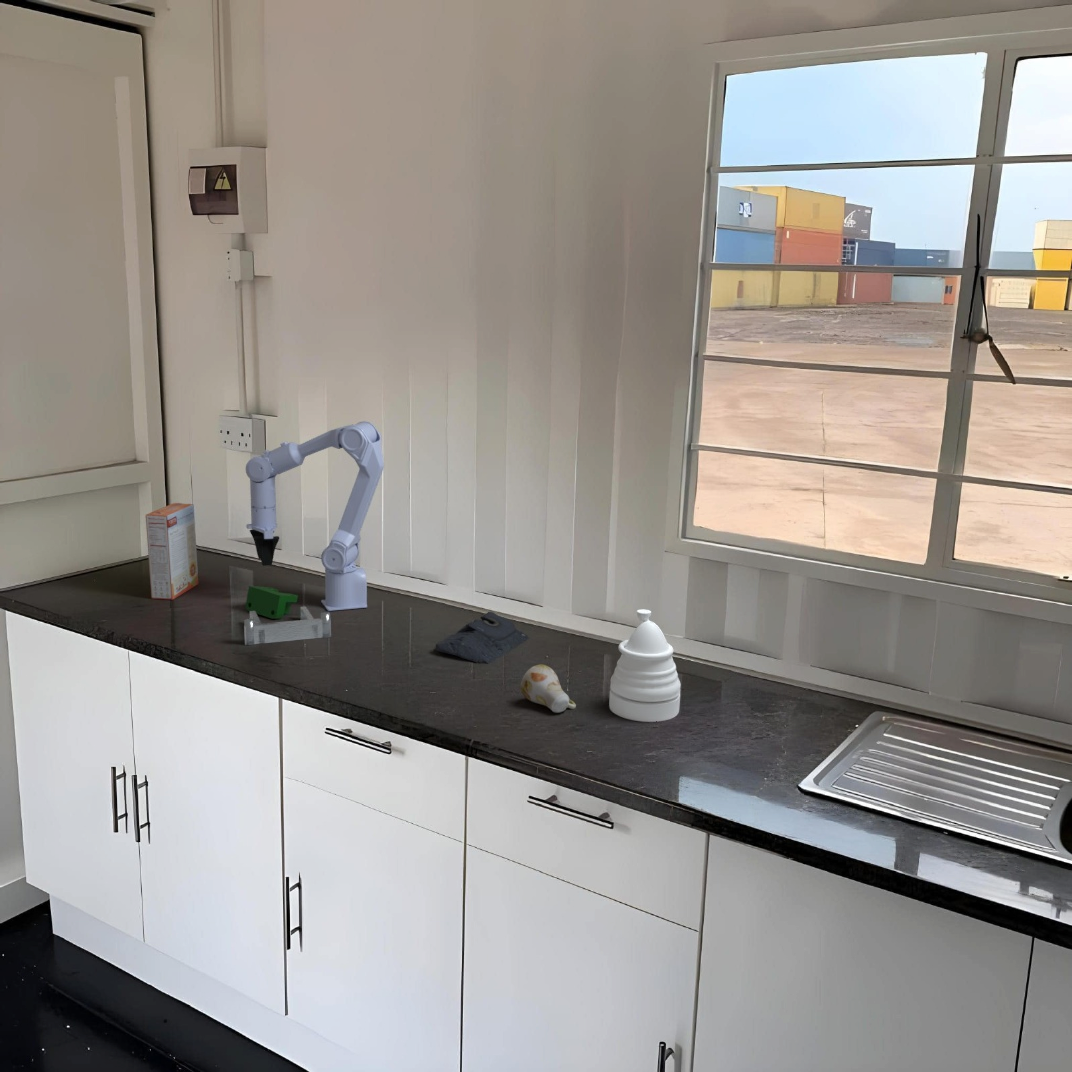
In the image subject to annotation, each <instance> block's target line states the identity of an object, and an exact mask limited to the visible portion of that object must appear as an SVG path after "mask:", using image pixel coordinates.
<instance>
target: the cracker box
mask: <svg viewBox="0 0 1072 1072" xmlns="http://www.w3.org/2000/svg"><path fill="white" fill-rule="evenodd" d="M195 518H196V517H195V504H194V503H193V504H192V503H181V502H173V503H171V504H168V505H166V506H164V507H161V508H159V509H157V510H154V511H151V512H149V513H147V514H145V528H146V540H147V554H148V567H149V568H148V569H149V570H148V571H149V579H150V580H149V581H150V582H149V583H150V597H151V599H154V600H155V599H156V600H169V601H170V600H175V599H176V598H178V597H180V596H181V595H182V594H184V593H187V592H188V591H190V590H191V589H193V588H195V587H196V586H198V585H199V572H198V571H199V570H198V555H197V538H196V537H197V536H196V522H195V521H196V519H195Z"/></svg>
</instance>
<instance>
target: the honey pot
mask: <svg viewBox="0 0 1072 1072" xmlns="http://www.w3.org/2000/svg"><path fill="white" fill-rule="evenodd" d="M636 614H637V618H638V619H639V621H640V622H641V623H640V624H639V625H638V626H637V627H636V628H635V629H634V631H633V632H632V633H631V635H630V637H629V639H625V640H623V641H621V642H620V643H619V645H618V647H617V648H618V651H619V652H620V653H621V655H620V657H619V659H618V660H617V662H616V666H615V668H614V671H613V674H612V675H611V678H610V679H609V681H610V684H609V685H610V686H609V701H608V702H609V703H608V704H609V705H608V707H609V710H610V711H611V712H612V713H614V714H615V715H617V716H619V717H621V718H624V719H627V720H630V721H634V722H635V721H637V722H643V723H646V722H649V723H654V722H655V723H656V721H657V722H663V721H667V720H668V721H669V720H671V719H673V718H675V717H676V716H677V715H679V712H680V704H681V703H680V701H681V686H682V685H681V681H680V678H679V674H678V672H677V665H676V663H675V661H674V659H673V654H674V652H675V650H674V648H673V646H672V645H671V644H670V643H668V641H667V638H666V637H665V635H664V633H663V631H662V630H661V628H660V627H659V625H657V624H656V623H655V622H654V621H651V620H650V618H651V616H652V611H651V610H649V609H644V608H643V609H637V610H636Z"/></svg>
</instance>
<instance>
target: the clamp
mask: <svg viewBox="0 0 1072 1072" xmlns="http://www.w3.org/2000/svg"><path fill="white" fill-rule="evenodd" d="M279 591H280V589H276V588H273V587H268V586H252V585H251V586H250V585H249V586H248V590H247V596H246V600H245V601H246V602H245V608H246V611H248V612H250V611H256V613H257V615H260V616H262V617H265V618H268V619H275V620H280V619H283V617H284V615H285V614H290V610H291V604H292V603H297V601H298V597H299V596H298V595H297V594H293V593H286V592H285V593H284V592H279Z"/></svg>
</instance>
